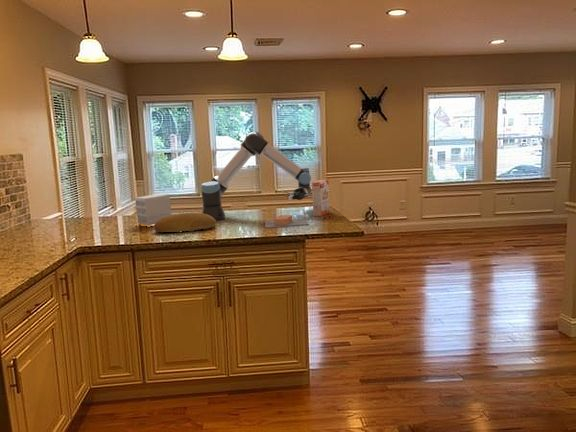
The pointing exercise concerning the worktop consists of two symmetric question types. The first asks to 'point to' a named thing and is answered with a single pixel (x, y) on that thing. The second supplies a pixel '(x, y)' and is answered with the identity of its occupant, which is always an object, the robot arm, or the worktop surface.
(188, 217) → the bread
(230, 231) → the worktop surface
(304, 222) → the mat
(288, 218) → the deck
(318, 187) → the cracker box
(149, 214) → the supplement box
